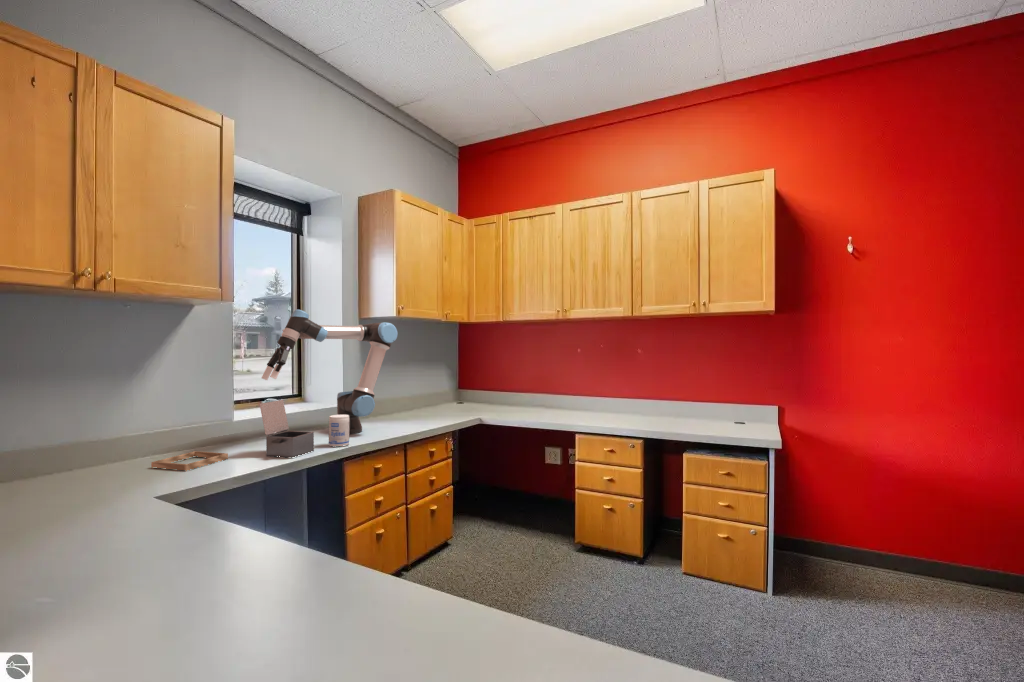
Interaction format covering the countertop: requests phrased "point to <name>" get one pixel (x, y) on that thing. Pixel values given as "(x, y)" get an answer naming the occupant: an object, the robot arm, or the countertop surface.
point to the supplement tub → (338, 430)
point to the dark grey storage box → (289, 443)
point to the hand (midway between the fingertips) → (268, 378)
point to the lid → (274, 417)
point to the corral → (210, 459)
